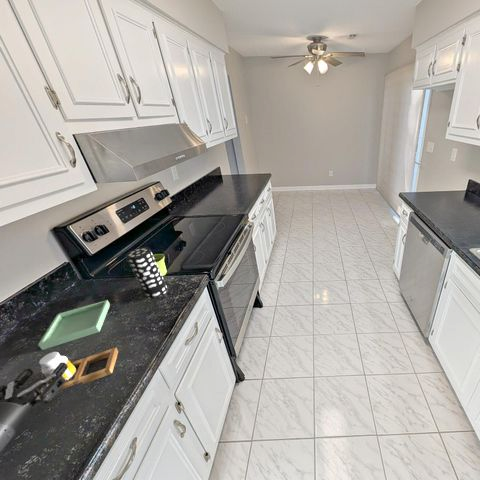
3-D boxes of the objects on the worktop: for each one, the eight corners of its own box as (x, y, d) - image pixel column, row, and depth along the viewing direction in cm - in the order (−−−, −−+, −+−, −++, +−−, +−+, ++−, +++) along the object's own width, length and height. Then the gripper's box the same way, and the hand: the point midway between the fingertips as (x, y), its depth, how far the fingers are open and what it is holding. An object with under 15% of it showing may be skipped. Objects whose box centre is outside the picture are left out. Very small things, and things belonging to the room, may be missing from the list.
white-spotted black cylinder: (158, 299, 104) (138, 258, 95) (141, 298, 106) (120, 257, 96) (171, 286, 111) (155, 247, 102) (155, 285, 113) (137, 246, 103)
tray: (42, 350, 85) (37, 344, 84) (61, 318, 98) (57, 313, 97) (99, 331, 91) (96, 326, 89) (110, 304, 103) (107, 299, 102)
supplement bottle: (69, 369, 78) (52, 348, 73) (83, 372, 76) (66, 350, 72) (50, 386, 73) (29, 365, 68) (64, 389, 72) (44, 367, 67)
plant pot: (144, 278, 119) (136, 262, 115) (162, 267, 126) (156, 252, 122) (156, 282, 115) (149, 266, 111) (174, 271, 123) (168, 255, 118)
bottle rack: (41, 400, 70) (37, 395, 69) (54, 373, 77) (51, 369, 76) (112, 373, 75) (109, 369, 74) (118, 351, 82) (115, 347, 81)
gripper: (17, 416, 54) (68, 352, 69) (-61, 432, 53) (9, 363, 67) (37, 434, 58) (82, 370, 72) (-35, 449, 56) (26, 381, 70)
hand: (47, 367), depth 69 cm, fingers open, 8 cm apart
